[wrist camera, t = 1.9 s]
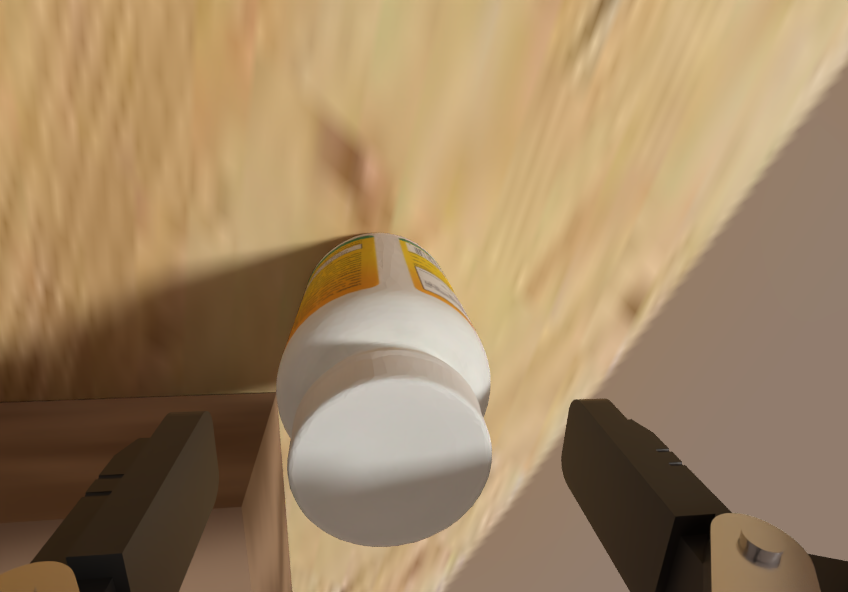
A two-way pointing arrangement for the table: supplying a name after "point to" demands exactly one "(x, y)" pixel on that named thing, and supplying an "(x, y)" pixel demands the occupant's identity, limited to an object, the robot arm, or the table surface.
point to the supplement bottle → (384, 396)
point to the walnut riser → (116, 429)
